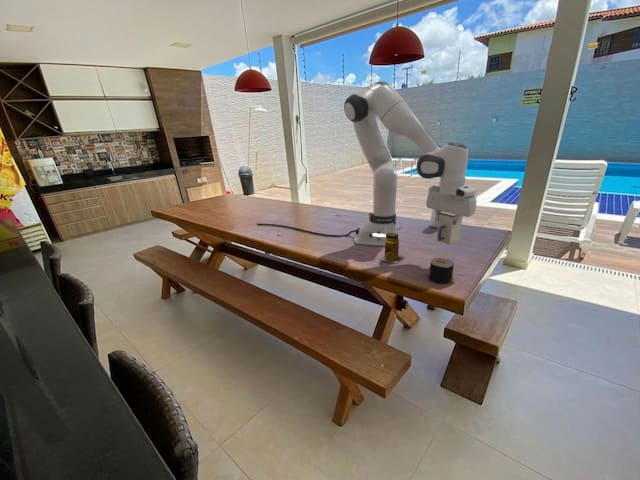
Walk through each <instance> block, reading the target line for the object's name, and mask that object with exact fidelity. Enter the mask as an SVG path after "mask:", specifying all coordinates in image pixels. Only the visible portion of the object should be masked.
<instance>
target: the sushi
mask: <svg viewBox="0 0 640 480" xmlns="http://www.w3.org/2000/svg"><path fill="white" fill-rule="evenodd" d="M454 267H455V261H454V260H453V259H449V258H445V257H433V258H432V259H431V260H430V267H429V276H428V278H429V280H431V281H432V282H434V283H437V284H443V285H444V284H448V283H450V282H451V281H452V280H453V273H454Z"/></svg>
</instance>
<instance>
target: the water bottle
mask: <svg viewBox="0 0 640 480" xmlns="http://www.w3.org/2000/svg"><path fill="white" fill-rule="evenodd" d="M437 186H440V181H439V182H438V185H437ZM441 212H444V211H441ZM429 222H430V225H429V226H430V227H431V228H433V229H438V223H439V221H437V216H436V214H435V209H431V211H430V221H429Z"/></svg>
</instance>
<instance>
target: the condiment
mask: <svg viewBox="0 0 640 480" xmlns="http://www.w3.org/2000/svg"><path fill="white" fill-rule="evenodd" d="M399 249H400V240H399V234H398V233H397V232H396V233H388V234H386V240H385V246H384V257H383V258H381V260H380V261H384V262H388V263H392V264H397V263H398V262H400V261H401V260H403V258H404V256H402V255H399V252H400V251H399Z"/></svg>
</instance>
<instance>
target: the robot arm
mask: <svg viewBox="0 0 640 480" xmlns="http://www.w3.org/2000/svg"><path fill="white" fill-rule="evenodd" d="M343 110H344V114H345V116H346V117H347V119H348V120H349V121H350V122H352V125H353V128H354V132H355V136H356V138H357V141H358V143H359V146H360V148H361V150H362V152H363V156H364V157H365V160H366V161H367V163H368V166H369V167H370V170H371V172H372V173H373V174H372V181H373V183H372V184H373V185H372V186H373V187H372V188H373V189H372V190H373V191H372V194H373V197H372V198H373V201H372V202H373V205H372V206H373V207H372V208H373V209H372V210H373V211H372V212H371V211H370V212H368V221H367V222H365V223H364V224H362V225H361V226H360V227H358V228H357V229H354V230H350V231H349V232H348V233H347V234H328V233H327V234H326V233H320V232H315V231H311V230H306V229H303V228H298V227H294V226H289V225H284V224H283V225H282V224H274V223H256V226H271V227H281V228H287V229H291V230H295V231H300V232H304V233H308V234H313V235H319V236H324V237H334V238H342V237H349V236H350V235H351V233H355V236H354V239H353V242H354V243H355V244H356V245H362V246H363V245H365V246H375V247H385V240H386V234H388V233H396V234H397V229H396V224H397V213H396V207H397V188H398V187H397V186H398V171H397V166H396V164H395V162H394V159H393V156H392V154H391V152H390V150H389V147H388V145H387V144H388V143H387V142H386V139H385V137H384V134H383V131H382V130H381V126H380V124H379V122H378V119H379V121H380V122H381V123H382V125H383V126H384V127H385V128H386V130H387V131H389V133H390V134H392V135H393V136H397V137H401V138H405V139H408V140H410V141H412V142H413V143H414V145H416V147H417V148H418V149H419V150H420V152H421V153H422V154H423V155H421V156H420V157H419V159H418V160H417V162H416V172H417V174H418V175H419V176H420V177H421V178H423V179H428V180H431V179H436V178H440V180H439V182H440V186H438V185H431V186H429V188H428V194H427V197H426V202H425V205H426V208H427V209H430V210H432V209H435V214H436V216H437V221H439V214H440V212H441V211H444V212H448V213H452V214H457V216H456V217H458V218H457V219H456V220H454V221H453V225H456V226H457V225H459V221H460V220H461V218H462V219H463V217H466V218H469V217H472V216H475V214H476V211H477V210H476V209H477V197H476V196H475V195H477V192H478V191H477V188H475V187H474V186H471V185H469V184H467V183H466V172H467V170H468V164H469V149H468V147H467V146H466V145H465V144H463V143H459V142H447V143H446V144H445V145H444V146H440V145H439V144H438V143H437V141H436V140H435V139H434V138H433V137H432V135H431V134H430V133H429V132H428V131H427V129H426V128H425V127H424V125H423V124H421V122H420V120H419V119H418V118H417V117H416V116H415V114H414V112H413V111H412V110H411V108H410V106H409V105H408V104H407V102H406V101H405V99H403V97H402V96H401V95H400V93H399V92H397V91H396V89H395V88H393V87H392V86H391V85H390V84H389V83H388V82H386V81H376V82H374V83H373V84H370V85H367V86H365V87H363V88H362V89H360V90H358V91H357V92H355V93H353V94H350V95H349V96H348V97H347V98H346V99H345V101H344V105H343ZM377 118H378V119H377Z"/></svg>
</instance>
